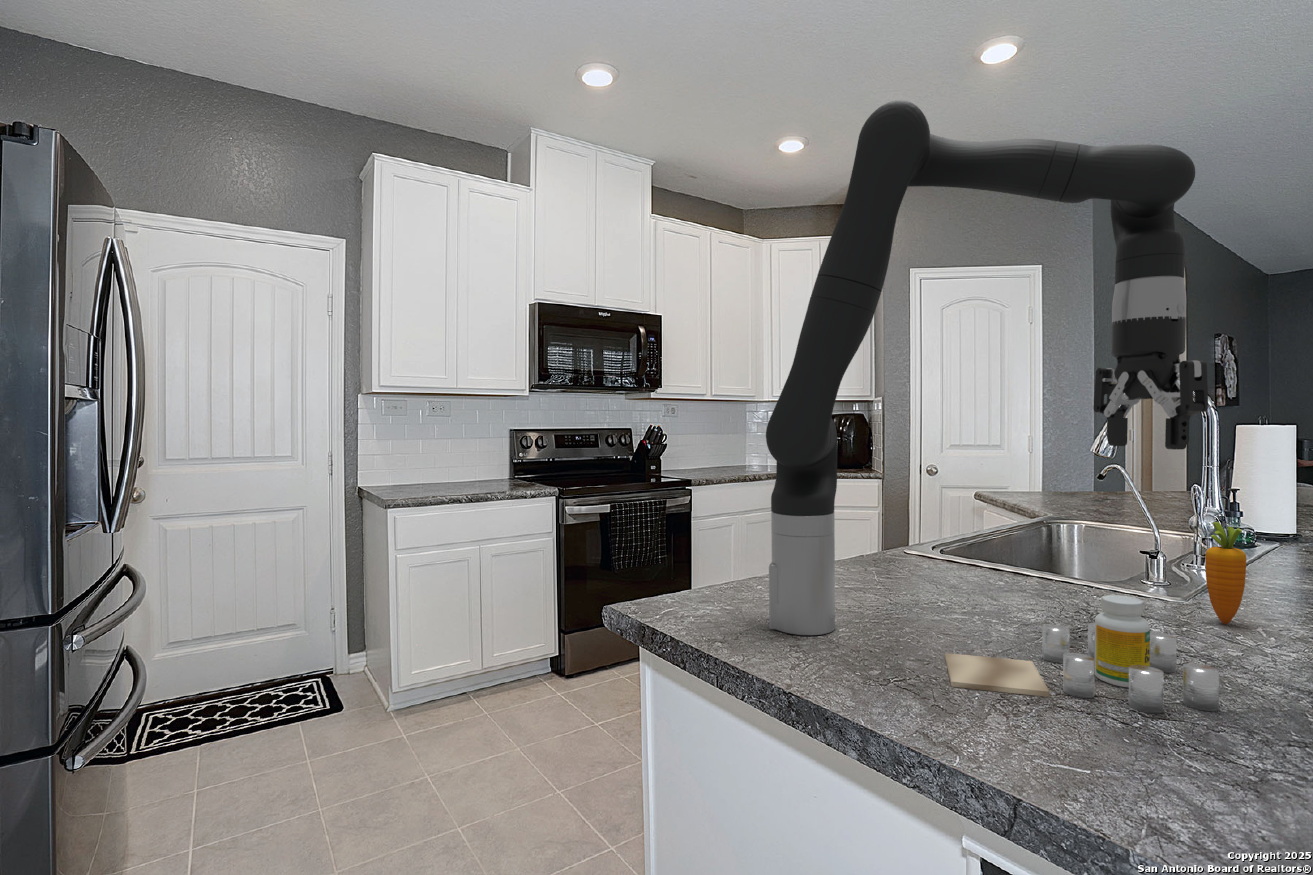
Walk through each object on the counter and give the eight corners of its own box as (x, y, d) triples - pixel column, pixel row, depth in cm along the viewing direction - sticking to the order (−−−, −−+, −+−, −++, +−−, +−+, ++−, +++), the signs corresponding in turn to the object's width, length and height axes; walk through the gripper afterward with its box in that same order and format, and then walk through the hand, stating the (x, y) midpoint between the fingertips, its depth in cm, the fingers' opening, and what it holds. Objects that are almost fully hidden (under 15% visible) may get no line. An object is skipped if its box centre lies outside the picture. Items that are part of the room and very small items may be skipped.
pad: (951, 686, 78) (951, 681, 78) (944, 657, 88) (944, 652, 88) (1049, 697, 75) (1049, 691, 75) (1032, 665, 85) (1031, 660, 85)
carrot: (1254, 630, 97) (1255, 526, 97) (1212, 627, 99) (1213, 524, 98) (1237, 620, 102) (1238, 521, 101) (1197, 618, 103) (1198, 520, 103)
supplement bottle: (1090, 669, 83) (1090, 591, 83) (1143, 675, 81) (1143, 595, 81) (1099, 685, 78) (1099, 602, 78) (1155, 692, 76) (1156, 607, 76)
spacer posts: (1072, 704, 73) (1072, 667, 73) (1036, 647, 91) (1036, 618, 91) (1234, 722, 68) (1235, 682, 68) (1163, 658, 86) (1163, 627, 86)
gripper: (1077, 325, 91) (1075, 445, 92) (1172, 308, 77) (1169, 450, 78) (1127, 326, 93) (1125, 445, 93) (1229, 310, 78) (1226, 450, 79)
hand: (1145, 447), depth 85 cm, fingers open, 8 cm apart
